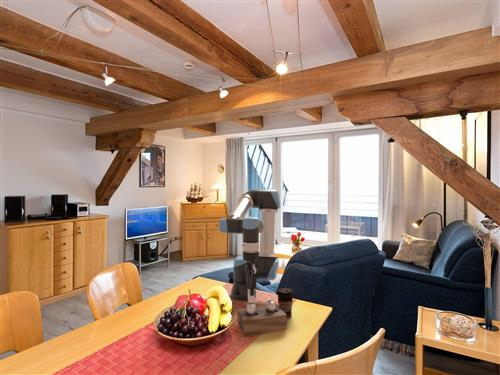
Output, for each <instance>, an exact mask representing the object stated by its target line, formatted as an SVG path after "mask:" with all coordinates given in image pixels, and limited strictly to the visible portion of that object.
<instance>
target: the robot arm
mask: <svg viewBox="0 0 500 375" xmlns="http://www.w3.org/2000/svg"><path fill="white" fill-rule="evenodd" d="M251 209H258V212H259V213H260V218H259V217H257V216H246V215H247V214H248V212H249V210H251ZM279 209H281V198H280V194H279V191H278V190H277V189H272V188H271V189H269V188H268V189H250V190H249V191H246V192H245V193H243V194H241V195H240V197H239V198H238V201H237V204H236V205H235V207H234V208H233V209H232V211H231V212H230V214H229V215H228V216H227V217H222V218H220V219H219V223H218V230H219V232H220V233H222V234H240V235H242V244H241V246H242V250H243V251H242V255H239V256H236V257H235V258H234V259H233V266H232V267H233V284H232V288H231V290H230V296H231V298H232V299H235V300H236V301H237V300H238V301H247V303H255V297H256V296H257V290H256V289H257V282H258V281H257V280H265V281H274V280H276V279H277V276H278V271H279V263H280V262H279V260H278V259H277V256H276V254H275V233H276V232H275V226H276V214H277V213H278V212H279V211H278V210H279Z"/></svg>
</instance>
